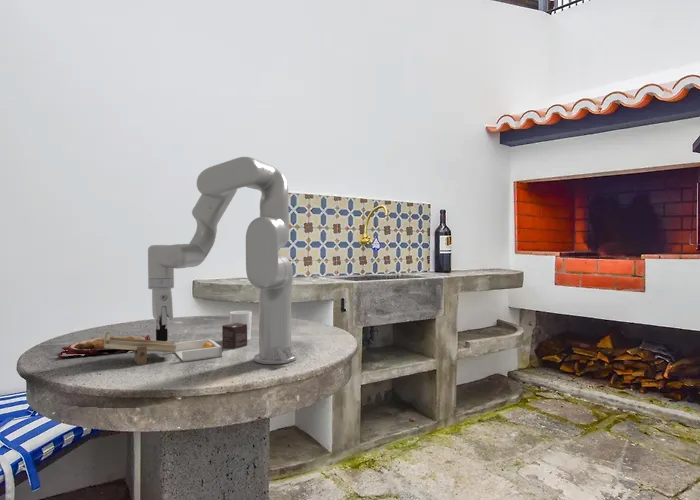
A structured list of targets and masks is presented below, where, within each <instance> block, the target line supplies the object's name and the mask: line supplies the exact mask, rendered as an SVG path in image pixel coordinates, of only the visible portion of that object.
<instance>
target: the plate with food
mask: <svg viewBox="0 0 700 500" xmlns="http://www.w3.org/2000/svg"><path fill="white" fill-rule="evenodd" d="M110 337H115V338H128V339H140V340H151V337H150V335H149V334H147V335H146V337H148V338H149V339H147V338H146V337H145V336H143V335H142V336H140V335H119V336H118V335H117V336H114V335H111V336H110ZM104 340H105V337H97V338H93V337H92V338H91V339H86V340H81V341H79V342H74V343H72V344H70V345H68V346H63V347H61V349H62V352H60V354H59V355H58V358H69V357H68V356H61V353H66V354H85V355H87V356H91V355H97V354H99V355H101V354H103V355H105V354H107V355H109V353H108V352H105V351H107V350H108V351H109V350H111V351H112V350H113V349H111V348H105V347H104ZM89 349H90V350H89ZM63 350H65V351H63ZM66 350H68V351H66ZM99 351H101V352H99ZM126 351H134V350H126V349H117V351H116V352H114V354H116V353H118V354H119V353H121V352H126ZM85 355H84V356H85ZM73 357H81V355H80V356H79V355H73ZM85 357H86V356H85Z"/></svg>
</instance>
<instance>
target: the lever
mask: <svg viewBox="0 0 700 500" xmlns="http://www.w3.org/2000/svg"><path fill="white" fill-rule="evenodd" d="M110 336H112V335H111V333H110V332H109V331H106V332H105V340H104V347H105V348H111V349H112V350H118V349H126V350H125V351H128V350H137V347H140V346H146V347H147V352H159V353H171V354H172V353H173V354H175V349H176V345H174V342H173V341H156V339H153V340H151V339H150V340H140V339H128V338H115V337H110Z"/></svg>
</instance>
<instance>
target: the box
mask: <svg viewBox="0 0 700 500" xmlns="http://www.w3.org/2000/svg"><path fill="white" fill-rule="evenodd" d="M221 327H222V329H221V330H222V336H221V341H222V342H221V345H222V346H221V347H222V348H230V349H233V350H234V349H235V350H236V349H237V348H242V347H244V346H248V340H247V324H240V323H232V324H230V323H228V324H224V325H222V326H221Z"/></svg>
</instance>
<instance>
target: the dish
mask: <svg viewBox="0 0 700 500" xmlns="http://www.w3.org/2000/svg"><path fill="white" fill-rule="evenodd" d="M207 342H209V343H211V344H212V346H213V347H211V348H203V345H204V344H205V343H207ZM173 345H176V349H175V353H174V354H175V355H176V356H177V358H179V359H180V361H182V362H184V363H185V362H192V361H193V362H194V361H199V360H200V361H201V360H206V359H215V358H220V357H221V358H222V357H223V346H221V345H220V344H218V343H217V342H215V340H213V339H211V338H207V339H196V340H188V341H179V342H173Z"/></svg>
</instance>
